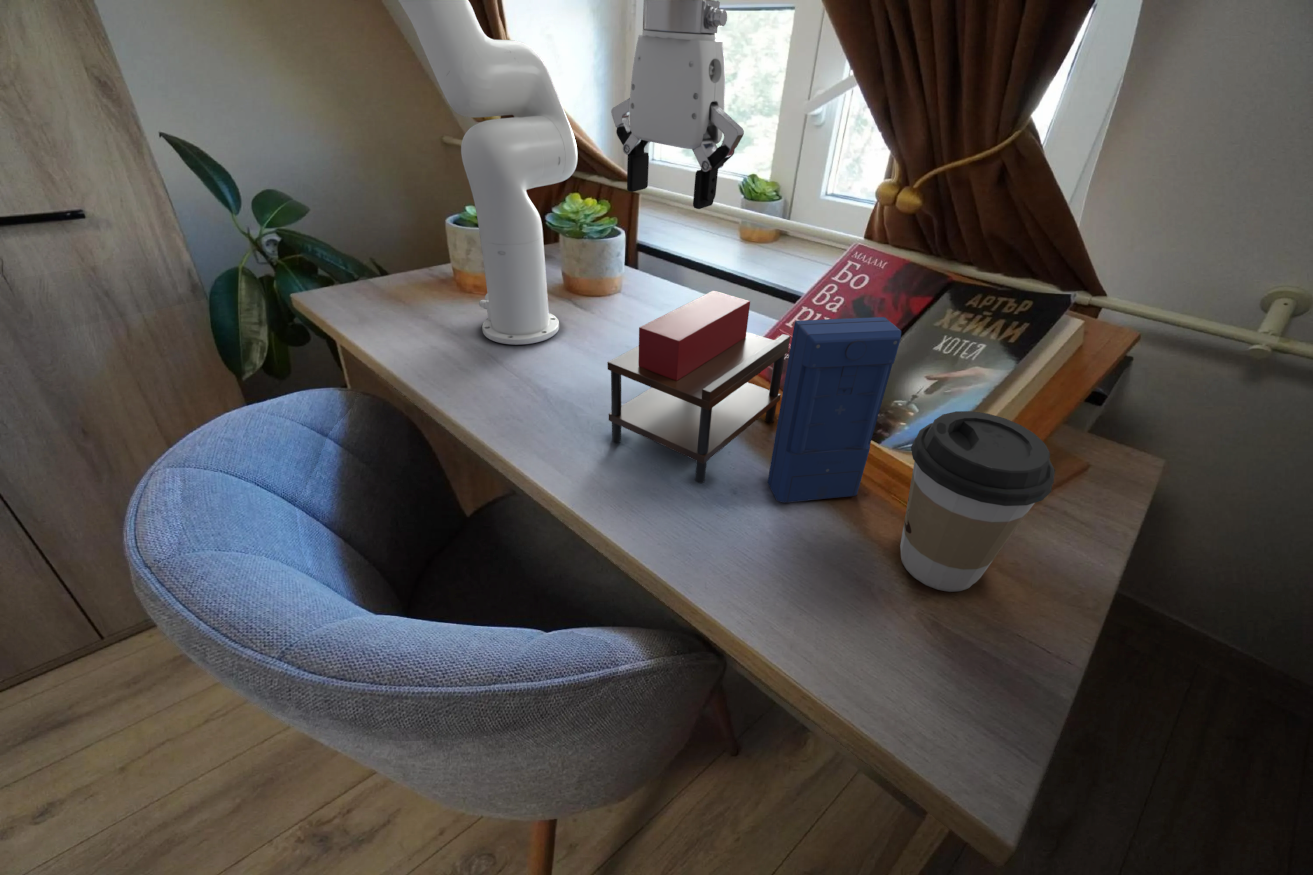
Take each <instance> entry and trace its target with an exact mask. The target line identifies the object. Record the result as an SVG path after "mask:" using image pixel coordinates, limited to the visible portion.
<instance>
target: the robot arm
mask: <svg viewBox="0 0 1313 875" xmlns="http://www.w3.org/2000/svg"><path fill="white" fill-rule="evenodd" d="M397 1H398V2H399V4H400V6H401V7H402V9H403V11H404V12H405V14H406V16H407V17H408V19H409V21H410V22H411V24H412V27H413V29H414V32H415V34H416V35H417V38H418V40H419V43H420V45H421V48H422V50H423V52H424V54H425V56H426V58H427V61H428V63H429V65H430V67H431V70H432V72H433V75H434V76H435V79H436V81H437V84H438V85H439V88H440V90H441V92H442V95H443V96H444V98H445V100H446V101H447V103H448V105H449V107H450V108H451V109H452V111H454V112H455V113H456V114H457V115H460V116H462V117H465V118H490V117H502V116H513V117H502V118H494V119H487V120H483V121H480V122H478V123H475V124H473V125H472V126H471V127H470V128H469V129H467V131H466V132H465V133H464V135H463V137H462V140H461V146H460V154H461V161H462V164H463V168H464V172H465V175H466V178H467V181H468V184H469V188H470V191H471V194H472V198H473V202H474V208H475V213H476V220H477V226H478V233H479V240H480V247H481V254H482V264H483V271H484V277H485V284H486V291H487V293H486V294H485V296H484V299H481V300H480V301H479V302H478V305H479V307H480V308H482V309H484V310H486V312H487V317H486V319H485V320H484V321H483V323H482V328H481V329H482V333H483V335H484V336H485V337H486V338H487V339H489V340H490V341H493V342H496V343H498V344H504V345H515V346H519V345H521V346H522V345H532V344H535V343H540V342H543V341H547V340H548V339H550V338H552V337H553V336H555V335H556V334H557V333H558V332H559V330H560V322H559V319H558V318H557V317H556V316H555V315H554V314H552V313H551V312H550V311H549V310H550V309H549V299H548V297H549V296H548V285H547V271H546V270H547V269H546V258H545V244H544V230H543V223H542V218H541V215H540V213H539V211H538V209H537V208H536V206H535V205H534V203H533V202H532V200H531V198H530V197H529V195H528V192H527V190H531V189H534V188H540V187H544V186H551V185H554V184H559V183H562V182H564V181H566V180H568V179H570V178H571V176H572V175H574V173H575V171H576V169H577V165H578V159H579V158H578V147H577V142H576V139H575V138H576V137H575V134H574V131H573V129H572V126H571V124H570V121H569V118H568V117H567V114H566V112H565V109H564V106H563V104H562V100H561V99H560V97H559V94H558V92H557V89H556V87H555V84H554V82H553V80H552V77H551V75H550V72H549V70H548V68H547V65H546V64H545V62H544V61H543V59H542V58H541V56H540V54H539V53H538V52H537V51H536V50H535V49H534V48H532V46H530V45H528V44H527V43H525V42H523V41H521V40H513V39H494V38H491V37H489V36H487V34H486V33H485V32H484V30H483V29H482V27H481V25H480V23H479V20H478V19H477V16H476V14H475V10H474V9H473V6H472V4H471V2H470V1H469V0H397ZM720 3H721V2H720V1H719V0H643V5H642V6H643V9H642V32H641V33H642V34H639V35H638V37H637V42H636V47H635V52H634V57H633V58H634V59H633V64H632V73H631V81H630V82H631V83H630V94H629V97H628V98H627V99H625V100H623V101H621V102H620V103H619V104H617V105H615V106H614V107H612V108H611V111H610V112H611V117H612V119H613V124H614V126H615V128H616V131H615V132H616V136H617V138H618V139H619V141H620V142H621V145H622V152H623V154H624V155H627V160H626V161H627V162H626V163H627V164H626V173H627V174H626V190H627V192H630V193H634V192H638V191H642V190H646V189H648V186H649V184H648V183H649V168H650V167H649V166H650V163H649V162H650V156H649V152H645V151H646V149H647V148H648V147H649V145H650V144H651V143H655V144H660V145H666V146H669V147H670V146H671V147H675V148H681V149H686V150H692V153H693V155H694V157H695V158H696V160H697V163H698V165H699V167H700V169H698V170H696V171H695V175H694V176H695V177H694V188H693V190H694V191H693V201H692V206H693V208H694V209H696V210H701V209H704V208H708V207H710V206H713V204H714V201H715V198H716V193H717V185H718V175H719V170H720V169H722V168H723V167H724V164H726V163H727V161H729V160H730V159H731V158H732V157H733V155H735V150H736V149H737V147H738V146H739V144H740V142H741V140H742V138H743V137H744V136H745V131H744V128H743V127H742V126H741V125H740V124H739V123H738V122H737V121H735V120H734V119H733V118H732V117H731V116H730V115H729V114H728V113H726V112H725V107H726V106H725V105H726V62H725V61H726V60H725V52H724V51H725V50H724V43H723V40H718V39H717V34H718V29H719V28H718V27H725V25H726V24H727V21H728V13H727V11H726V9H720V6H721V5H720ZM722 138H723V140H722ZM720 142H721V144H720ZM718 144H720V145H719V146H717V145H718Z"/></svg>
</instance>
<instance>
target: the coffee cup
mask: <svg viewBox="0 0 1313 875" xmlns="http://www.w3.org/2000/svg"><path fill="white" fill-rule="evenodd" d="M910 450H911V455H912V460H913V462H914V463H913V468H912V473H911V480H910V486H909V490H908V491H909V492H908V498H907V502H906V503H907V504H906V510H905V517H904V522H903V526H902V532H901V539H900V546H899V547H900V548H899V549H900V558H901V564H902V565H903V566H904V569H905V570H906V571H907V572H908V574H910V575H911V576H912V578H914V579H916V580H917V581H918V582H920V583H922V584H923V585H925V586H927V587H930V588H933V589H935V590H938V591H944V592H949V593H951V592H952V593H953V592H962V591H965V590H967V589H970V588H971V587H972V586H974V584H976V583H977V582H978V581H979V580H980V579H981V578H982V576H983V575H984V574H985V572H986V571H987V570H988V568H989V567H990V565H991V564H992V563H993V562H994V560H995V558H996V557H998V554H999V553H1000V552H1001V550H1002V549H1003V547H1004V546H1005V545H1006V543H1007V542H1008V541H1009V539H1010V538H1011V536H1012V535H1013V534H1014V532H1016V530H1017V528H1018V527H1019V525H1020V524H1021V523H1022V522H1023V520H1024V518H1025V517H1026V516H1027V515H1028V513H1029V512H1030V510H1031V509H1032V507H1034V505H1035V504H1036V503H1038V502H1042V501H1044V500H1045V499H1046V498H1047V497H1048V496H1049V495H1050V494H1051V493H1052V489H1053V484H1054V483H1055V473H1056V470H1055V468H1054V466H1053V464H1052V462H1051V460H1050V459H1051V452H1050V451H1049V449H1048V447H1047V444H1046V443H1045V442H1044V441H1043V440H1042V439H1041V438H1040V437H1039V436H1038V435H1036V433H1034V432H1033V431H1031V430H1030V429H1028V428H1027V427H1025V426H1023V425H1021V424H1020V423H1017V422H1015V421H1013V420H1011V419H1008V418H1005V417H1003V416H1002V417H1001V416H998V415H994V414H991V413H988V412H979V411H973V410H963V411H962V410H959V411H958V410H957V411H952V412H948V413H943V414H942V415H941V414H940V415H939V416H938V417H936V418H934V420H933V421H932V422H930V423H929V424H927V425H926V426H923V427H922V428H921V429H920V430H919V431H918V433H917V435H916V437H915V438H914V440H913V442H912V444H911V446H910Z"/></svg>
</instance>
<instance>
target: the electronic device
mask: <svg viewBox="0 0 1313 875" xmlns="http://www.w3.org/2000/svg"><path fill="white" fill-rule="evenodd" d="M901 338H902V330H901V329H900V328H898V327H897V326H896V325H895V324H894V323H893V322H891V321H890V320H889V319H888V318H886V317H885V316H874V317H851V318H828V319H827V318H826V319H805V320H804V319H803V320H801V319H800V320H795V321H794V324H793V330H792V336H791V340H790V342H791V343H790V346H789V352H788V353H789V354H788V360H787V366H786V371H785V377H784V383H783V390H782V394H781V399H780V407H779V413H778V418H777V422H776V423H777V425H776V430H775V434H774V435H775V436H774V440H773V441H774V442H773V448H772V454H771V459H770V464H769V471H768V477H767V484H768V487H769V488H770V490H771V492H772V494H773V496H774V498H775V500H776V501H777V502H781V503H794V502H803V501H805V502H806V501H814V500H826V499H828V500H829V499H836V498H838V499H839V498H847V497H848V498H849V497H857V495H858V492H859V490H860V486H861V483H862V482H861V481H862V479H863V475H864V472H865V469H866V464H867V461H868V457H869V454H870V449H871V442H872V440H873V439H872V438H873V436H874V432H875V428H876V425H877V421H878V417H879V414H880V410H881V407H882V404H883V400H884V396H885V393H886V389H887V385H888V382H889V379H890V375H891V371H892V368H893V365H894V364H895V361H896V357H897V354H898V351H899V347H900V343H901Z"/></svg>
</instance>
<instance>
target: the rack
mask: <svg viewBox="0 0 1313 875" xmlns="http://www.w3.org/2000/svg"><path fill="white" fill-rule="evenodd" d="M790 342H791V336H790V335H788V334H784V333H782V334H781V335H780V336H779V337H777V338H776V339H772V338H767V337H765V336H761V335H758V334H755V333H752V332H749V331H747V332H746V337H745V338H744V339H742V340H741V341H739V342H737V343H736V344H734V345H733V346H731V347H729V348H728V349H726V350H725V351H723V352H722V353H720V354H718V355H717V356H715V357H714V358H712V359H711V360H709V361H707V362H706V363H704V364H703V365H701V366H700V367H698V368H696V369H695V370H693V371H692V372H690V373H688V374H687V375H685V376H684V377H682V378H681V379H679V380H677V381H675V380H673V379H670V378H668V377H665V376H663V375H660V374H657V373H655V372H652V371H650V370H647V369H644V368H642V367H639V345H637V346H635V347H633V348H632V349H629V350H627V351H626V352H624V353H622V354H620V355H618V356H616V357H614V358H612V359H610V360H608V361H607V370H608V371H610V406H611V407H610V408H611V409H610V410H611V411H610V412H609V413H608V421H609V422H611V441H612V443H615V444H618V443H621V442H622V428H624V429H626V430H628V431H631V432H632V433H635V434H637V435H639V436H641V437H644V438H646V439H648V440H650V441H652V442H654V443H656V444H659V445H662V446H664V447H665V448H667V449H670V450H672V451H674V452H677V453H679V454H681V455H683V456H685V457H688V458H689V459H692V460H693V461H695V471H694V472H695V474H694V481H695V482H696V483H698V484H703V483H705V481H706V477H707V467H708V461H709V460H710V459H712V458H713V457H714V456H716V454H717V453H719V452H720V451H721V450H723V449H724V448H725V447H726V446H727V445H728V444H730V443H731V442H732V441H733V440H734V439H736V438H737V437H738V436H739V435H740V434H741V433H743V432H744V431H745V430H746V429H748V428H749V427H750V426H751V425H752V424H754V423H755V422H756V421H757V420H759V418H761V417H762V416H763V415H765V416H764V421H765V422H766V423H769V424H771V423H774V422H775V417H776V413H777V412H776V411H777V405H778V403H779V402H781V397H782V394H781V393H779V392H780V387H781V381H782V376H783V375H782V374H783V369H784V363H785V356H786V354H788V353H789V349H790ZM771 365H773V366H772V372H771V378H770V385H769V389H767V388H765V387H762V386H760V385H756V384H755V383H754V384H753V383H751V382H749V381H751V380H752V379H754V378H756V376H758V375H759V374H760V373H762V372H763V371H764V370H766V369H768V368H769V367H770V366H771ZM622 376H623V377H625V378H628V379H630V380H632V381H635V382H637V383H640V384H641V385H645V386H646V387H650V388H648V389H646V390H645V391H643V392H641V393H640V394H638V395H637V396H635V397H633V398H631V399H630V400H628V401H627V402H625V403H623V404H622Z"/></svg>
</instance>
